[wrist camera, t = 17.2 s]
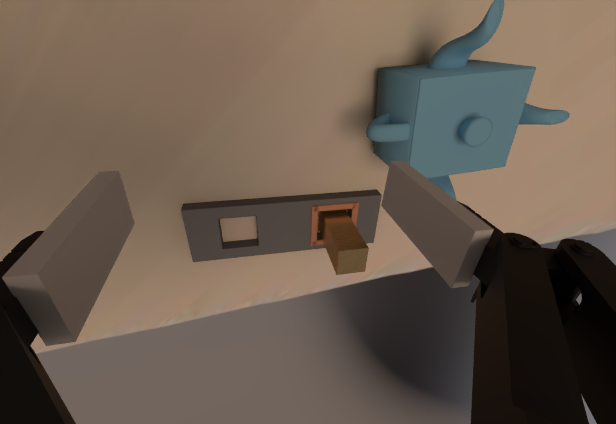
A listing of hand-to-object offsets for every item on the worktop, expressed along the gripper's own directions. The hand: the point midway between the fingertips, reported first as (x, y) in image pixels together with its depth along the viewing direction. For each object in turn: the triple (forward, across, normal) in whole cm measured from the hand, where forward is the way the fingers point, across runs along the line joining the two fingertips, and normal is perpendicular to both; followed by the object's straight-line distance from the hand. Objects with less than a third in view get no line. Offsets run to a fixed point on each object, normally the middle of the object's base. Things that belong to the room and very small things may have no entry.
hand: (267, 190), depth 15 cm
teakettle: (+29, +26, -2) cm, 39 cm away
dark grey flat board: (+29, +6, -21) cm, 37 cm away
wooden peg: (+29, +14, -21) cm, 38 cm away
